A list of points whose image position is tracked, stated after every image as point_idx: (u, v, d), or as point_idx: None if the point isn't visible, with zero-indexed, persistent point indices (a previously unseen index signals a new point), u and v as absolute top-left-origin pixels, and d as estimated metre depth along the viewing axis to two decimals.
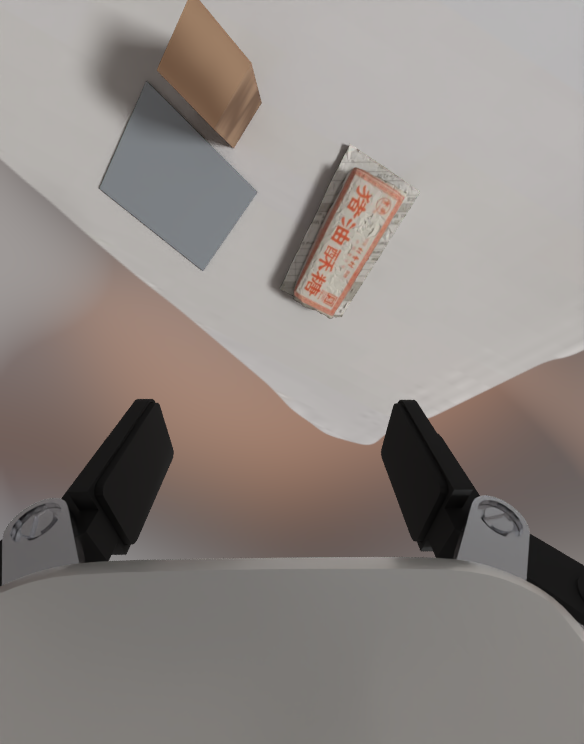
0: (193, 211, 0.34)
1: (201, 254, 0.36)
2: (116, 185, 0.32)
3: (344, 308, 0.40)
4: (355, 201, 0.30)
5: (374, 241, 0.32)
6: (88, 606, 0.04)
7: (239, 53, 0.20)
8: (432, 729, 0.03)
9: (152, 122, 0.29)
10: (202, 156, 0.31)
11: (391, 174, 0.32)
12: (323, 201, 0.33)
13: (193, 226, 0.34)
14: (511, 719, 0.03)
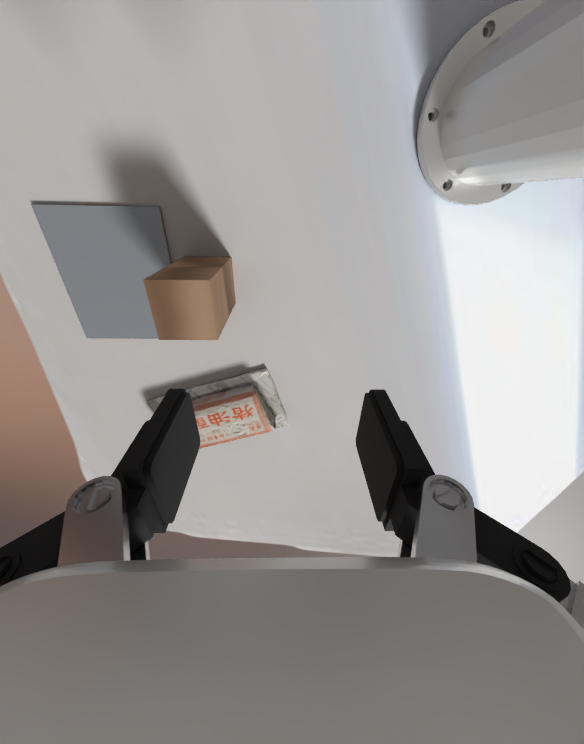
0: (118, 301, 0.31)
1: (96, 328, 0.33)
2: (54, 220, 0.27)
3: None
4: (240, 410, 0.36)
5: (235, 438, 0.38)
6: (88, 606, 0.04)
7: (213, 330, 0.23)
8: (432, 729, 0.03)
9: (137, 228, 0.27)
10: None
11: (279, 403, 0.39)
12: (225, 382, 0.37)
13: (108, 308, 0.32)
14: (511, 719, 0.03)
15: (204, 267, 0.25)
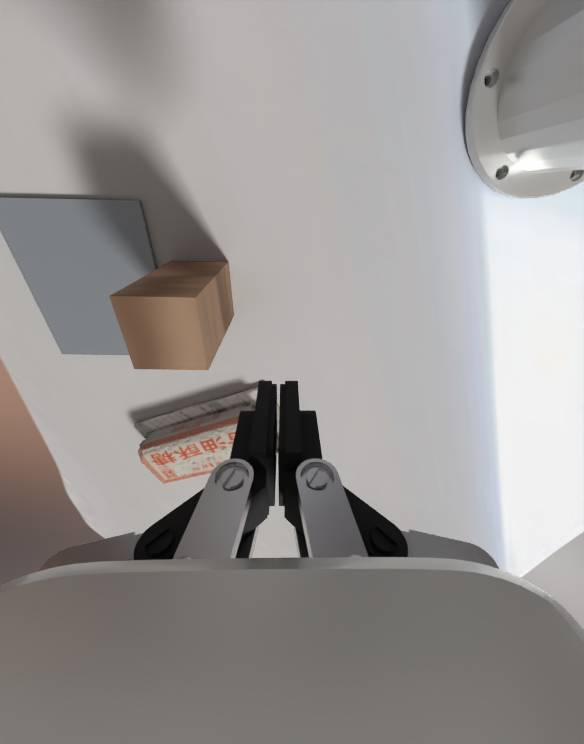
0: (95, 313, 0.27)
1: (72, 343, 0.28)
2: (13, 216, 0.22)
3: None
4: None
5: None
6: (88, 606, 0.04)
7: (203, 358, 0.18)
8: (432, 729, 0.03)
9: (114, 226, 0.23)
10: None
11: None
12: (219, 402, 0.32)
13: (84, 321, 0.27)
14: (511, 719, 0.03)
15: (193, 276, 0.20)
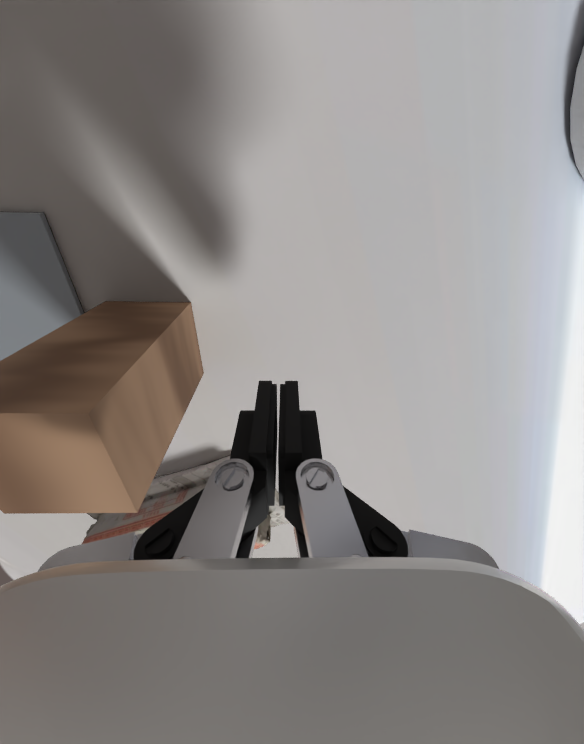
0: None
1: None
2: None
3: None
4: None
5: None
6: (88, 606, 0.04)
7: (124, 498, 0.10)
8: (432, 729, 0.03)
9: (7, 253, 0.14)
10: None
11: None
12: (185, 476, 0.24)
13: None
14: (511, 719, 0.03)
15: (118, 342, 0.12)
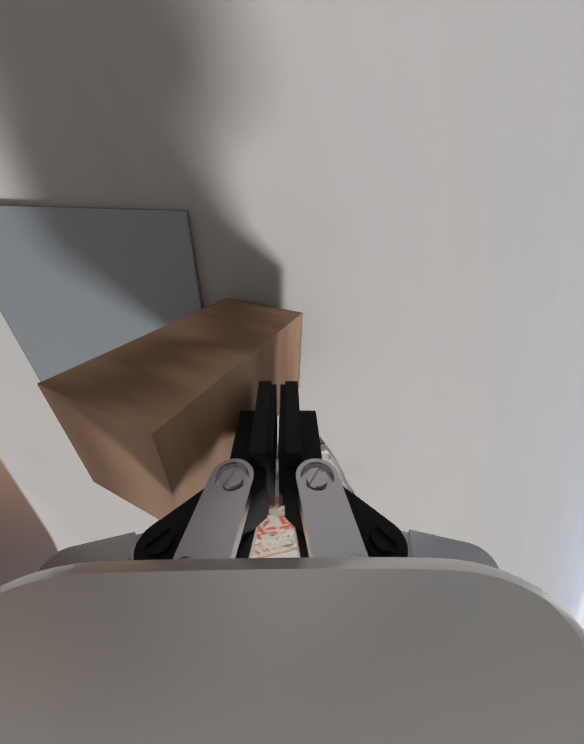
0: None
1: None
2: None
3: None
4: None
5: (287, 550, 0.25)
6: (88, 606, 0.04)
7: None
8: (432, 729, 0.03)
9: (144, 250, 0.15)
10: None
11: None
12: None
13: None
14: (511, 719, 0.03)
15: (216, 347, 0.11)
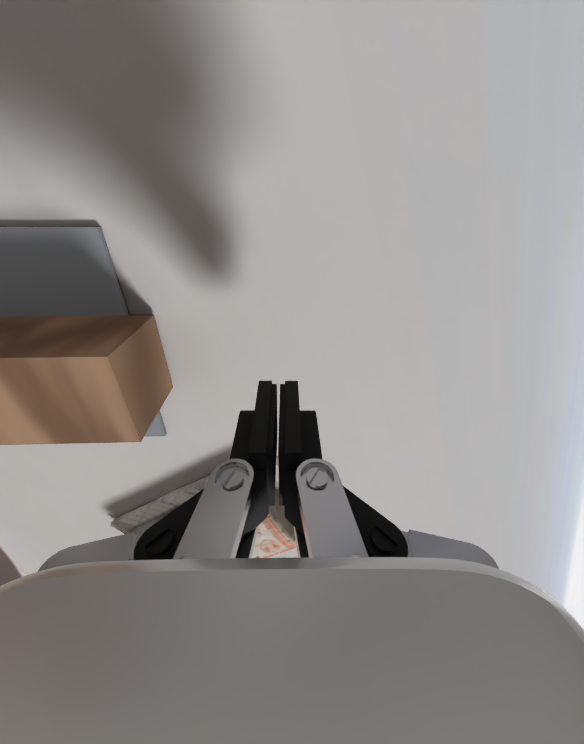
0: None
1: None
2: None
3: None
4: None
5: None
6: (88, 606, 0.04)
7: None
8: (432, 729, 0.03)
9: (61, 268, 0.14)
10: None
11: None
12: None
13: None
14: (511, 719, 0.03)
15: (5, 342, 0.13)
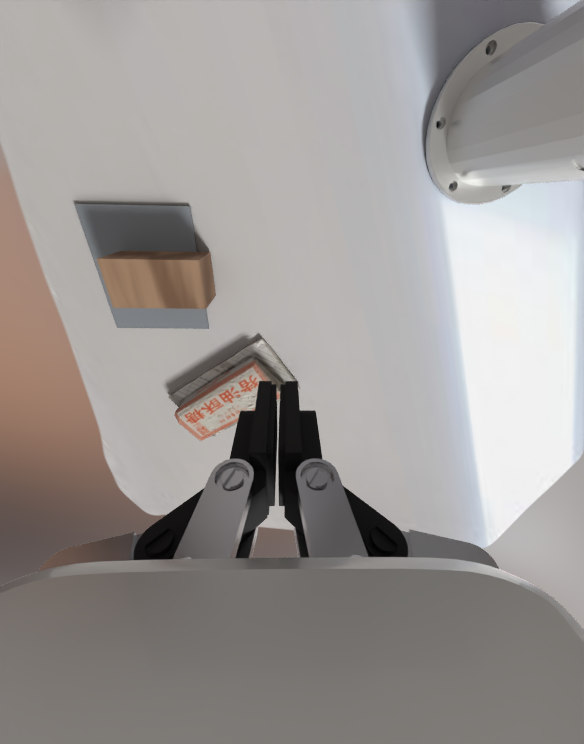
0: None
1: (126, 318, 0.36)
2: (94, 218, 0.30)
3: (218, 431, 0.46)
4: (245, 382, 0.37)
5: None
6: (88, 606, 0.04)
7: None
8: (432, 729, 0.03)
9: (169, 225, 0.30)
10: None
11: (284, 370, 0.40)
12: (228, 361, 0.39)
13: None
14: (511, 719, 0.03)
15: (150, 256, 0.29)
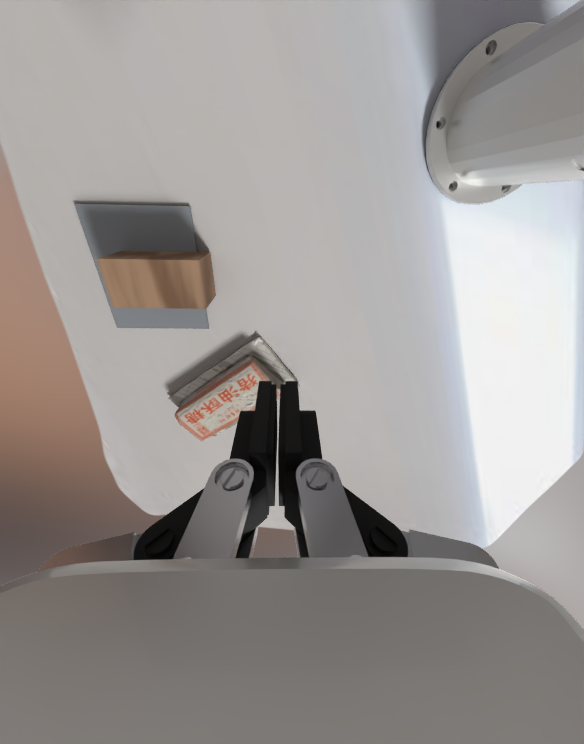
0: None
1: (126, 318, 0.36)
2: (94, 218, 0.30)
3: (219, 431, 0.46)
4: (244, 381, 0.37)
5: (250, 410, 0.39)
6: (88, 606, 0.04)
7: None
8: (432, 729, 0.03)
9: (169, 225, 0.30)
10: None
11: (282, 368, 0.40)
12: (226, 360, 0.39)
13: None
14: (511, 719, 0.03)
15: (150, 256, 0.29)
